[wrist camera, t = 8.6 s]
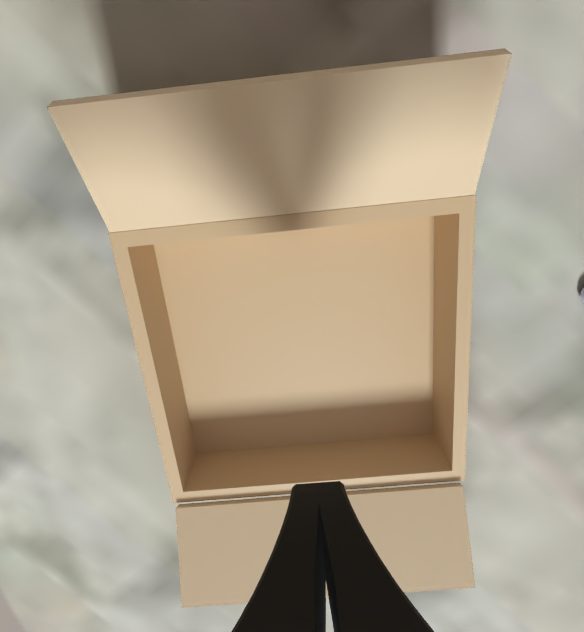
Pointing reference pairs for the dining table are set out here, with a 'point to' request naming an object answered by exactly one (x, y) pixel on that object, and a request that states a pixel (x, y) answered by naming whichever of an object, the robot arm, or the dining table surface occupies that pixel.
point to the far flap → (374, 516)
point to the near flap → (286, 141)
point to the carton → (305, 346)
